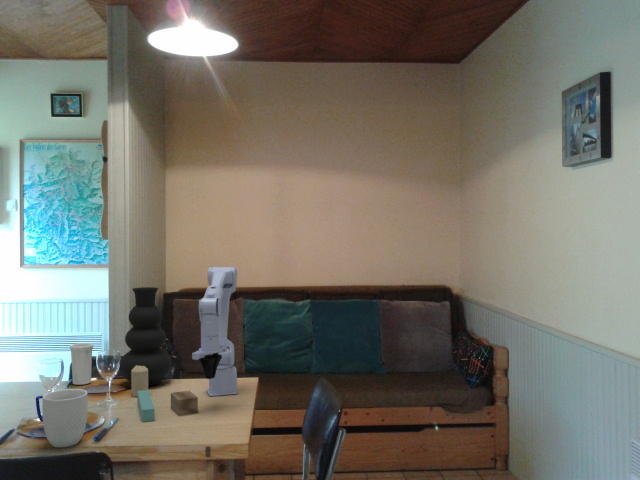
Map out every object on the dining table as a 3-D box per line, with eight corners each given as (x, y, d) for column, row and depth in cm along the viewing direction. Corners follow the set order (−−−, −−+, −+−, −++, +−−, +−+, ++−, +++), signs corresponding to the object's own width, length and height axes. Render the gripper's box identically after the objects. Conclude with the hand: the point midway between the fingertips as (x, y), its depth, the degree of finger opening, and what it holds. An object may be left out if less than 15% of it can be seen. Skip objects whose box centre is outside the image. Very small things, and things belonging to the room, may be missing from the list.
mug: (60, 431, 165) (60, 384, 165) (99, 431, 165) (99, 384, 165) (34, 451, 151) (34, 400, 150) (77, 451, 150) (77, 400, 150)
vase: (178, 377, 225) (178, 286, 225) (160, 390, 207) (160, 291, 206) (132, 376, 227) (131, 285, 227) (110, 389, 209) (109, 290, 208)
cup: (65, 385, 213) (65, 346, 213) (78, 380, 221) (77, 342, 221) (85, 386, 212) (85, 347, 212) (98, 381, 220) (97, 343, 220)
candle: (150, 392, 204) (150, 364, 204) (144, 397, 199) (144, 367, 199) (135, 392, 205) (135, 363, 205) (128, 396, 199) (128, 367, 199)
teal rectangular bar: (148, 400, 195) (148, 389, 195) (154, 420, 175) (154, 408, 175) (137, 401, 194) (137, 390, 194) (142, 421, 173) (142, 410, 173)
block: (189, 405, 190) (189, 390, 190) (197, 413, 182) (197, 397, 182) (170, 408, 187) (170, 392, 187) (178, 416, 179) (178, 400, 179)
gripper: (215, 330, 195) (215, 371, 196) (184, 337, 183) (184, 381, 183) (232, 332, 192) (232, 374, 192) (202, 339, 179) (202, 384, 179)
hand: (210, 378), depth 187 cm, fingers closed
